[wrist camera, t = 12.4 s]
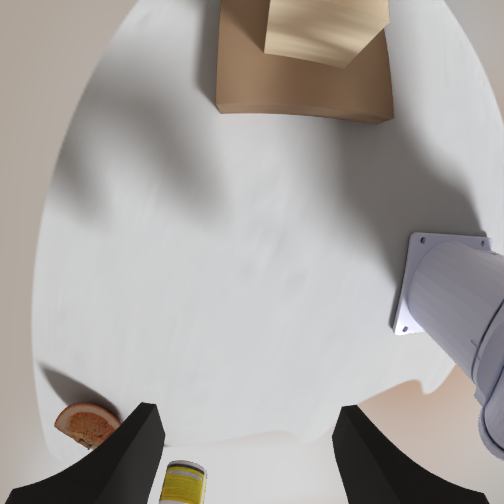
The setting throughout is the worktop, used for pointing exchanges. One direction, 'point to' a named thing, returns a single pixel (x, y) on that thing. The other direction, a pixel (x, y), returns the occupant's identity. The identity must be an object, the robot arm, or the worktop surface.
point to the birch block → (324, 28)
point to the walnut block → (295, 74)
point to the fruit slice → (87, 424)
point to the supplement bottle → (183, 483)
